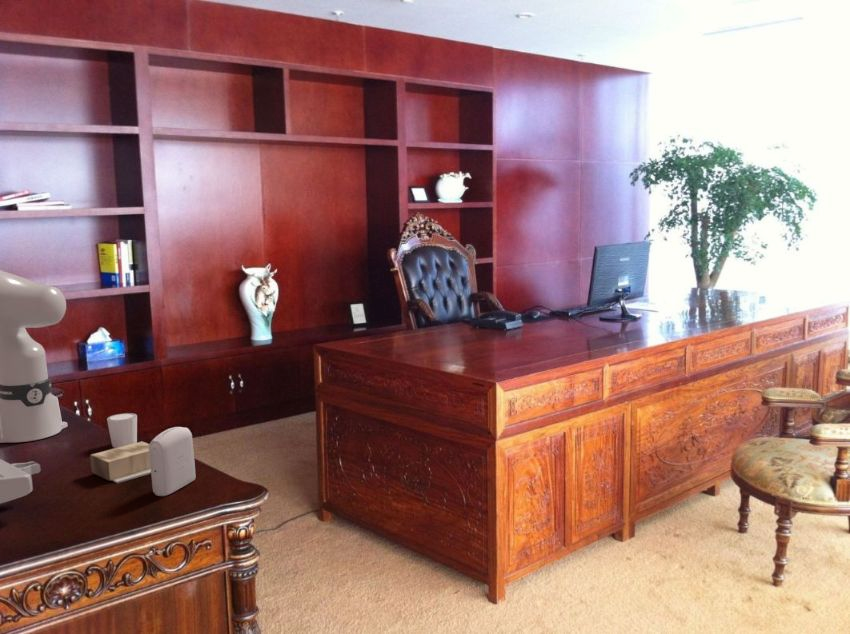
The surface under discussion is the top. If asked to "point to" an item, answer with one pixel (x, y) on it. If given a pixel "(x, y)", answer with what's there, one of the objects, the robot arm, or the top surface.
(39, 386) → the robot arm
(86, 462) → the top surface
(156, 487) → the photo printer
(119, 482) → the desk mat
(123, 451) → the oak block
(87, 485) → the top surface
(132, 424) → the white tapered cup
